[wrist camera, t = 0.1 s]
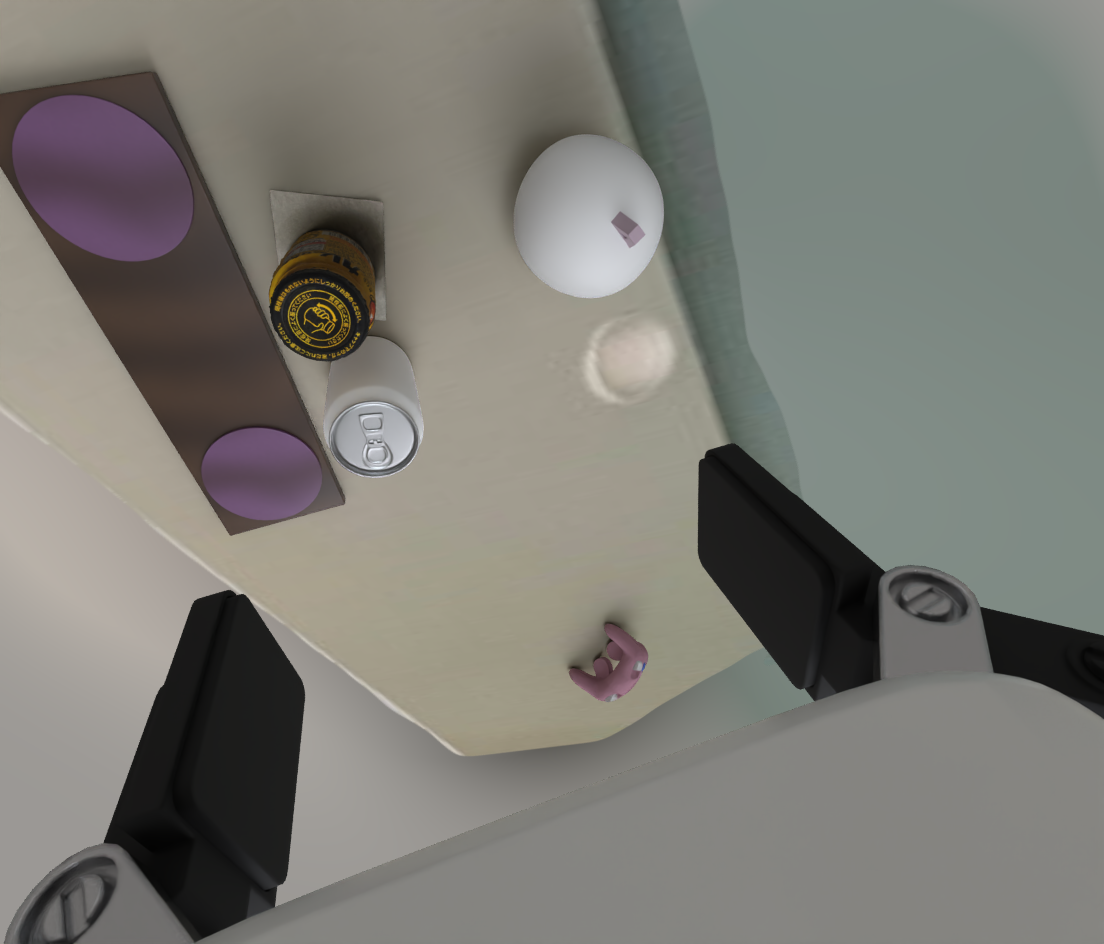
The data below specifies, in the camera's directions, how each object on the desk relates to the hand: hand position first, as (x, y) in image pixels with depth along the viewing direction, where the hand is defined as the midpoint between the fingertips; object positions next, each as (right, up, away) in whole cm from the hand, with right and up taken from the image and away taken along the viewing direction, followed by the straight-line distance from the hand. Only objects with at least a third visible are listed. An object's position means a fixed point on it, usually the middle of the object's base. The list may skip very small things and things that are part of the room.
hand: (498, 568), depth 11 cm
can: (-14, +10, +34) cm, 38 cm away
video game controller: (+8, -21, +62) cm, 66 cm away
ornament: (+2, +22, +32) cm, 39 cm away
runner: (-25, +11, +30) cm, 40 cm away
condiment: (-15, +18, +29) cm, 37 cm away
